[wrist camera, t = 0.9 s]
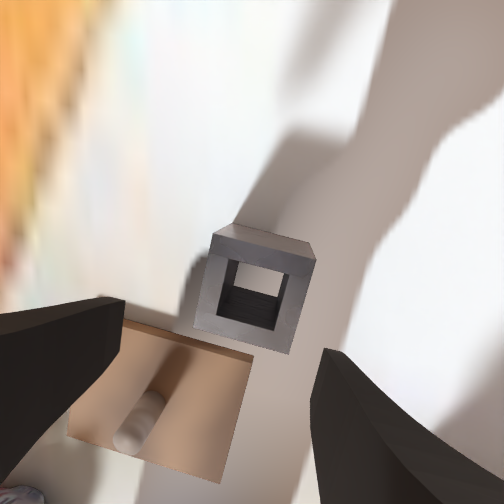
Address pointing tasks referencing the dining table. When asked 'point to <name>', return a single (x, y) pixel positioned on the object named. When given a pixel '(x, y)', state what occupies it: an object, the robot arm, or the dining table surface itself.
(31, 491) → the red grey chunky piece
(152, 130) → the dining table surface
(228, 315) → the collar
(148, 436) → the shaft block
